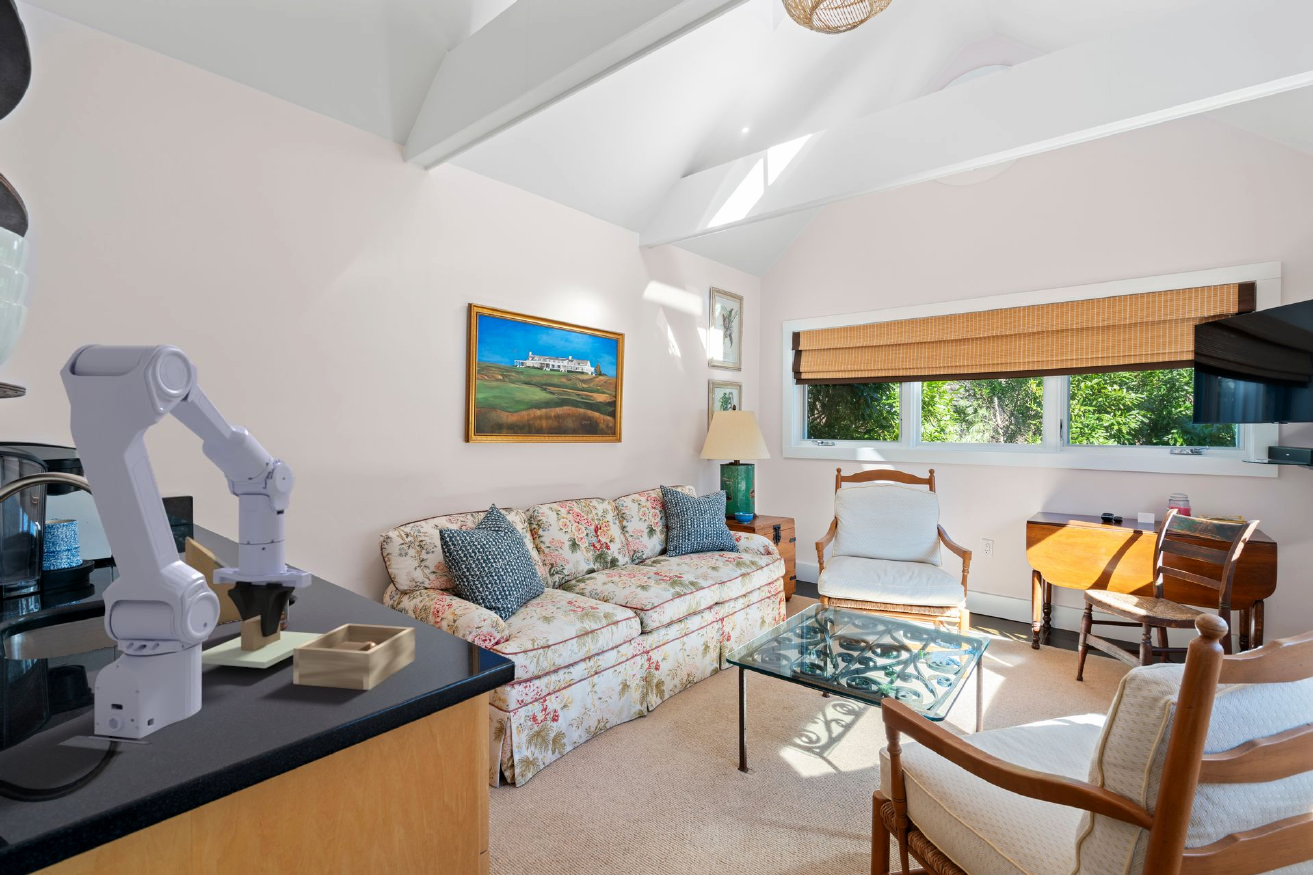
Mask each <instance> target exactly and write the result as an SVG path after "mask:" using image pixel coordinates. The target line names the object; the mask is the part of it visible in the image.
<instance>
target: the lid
mask: <svg viewBox="0 0 1313 875" xmlns="http://www.w3.org/2000/svg"><path fill="white" fill-rule="evenodd" d="M323 634H324V633H316V632H315V633H314V632H313V633H312V632H299V631H298V632H297V631H284V630H280V623H279V626H278V630H277V633H275V634H273V635H271V636H268V637H263V636H262V632H261V618H260V615H259V616H256V617H254V618H251V619H248V620H246V621H241V622H240V636H238V637H236V638H234V639H231V640H228V641H225V642H223V643H221V644H219V645H216V646H214V647H211V648H208V649H206V650H202V664H207V665H208V664H209V665H218V666H219V665H221V666H223V665H224V666H230V667H231V666H235V667H245V668H246V667H248V668H259V669H267V668H268V667H271V666H273V665H275V664H278V662H280V661H284V660H285V659H287V658H289V657H291V656H293V648H295V647H297V646H300V645H302V644H304V643H306V642H308V641H310V640H313V639H315V638H317V637H319V636H321V635H323Z"/></svg>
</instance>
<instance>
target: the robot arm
mask: <svg viewBox="0 0 1313 875" xmlns="http://www.w3.org/2000/svg"><path fill="white" fill-rule="evenodd" d="M198 370H199V369H198V366H197V365H195V364H194V363H193V362H192V361H191V360H190V358H189V356H188V355H187V354H186V353H185V352H184V350H182V349H181V348H180V347H178V346H176V345H174V344H169V343H167V344H165V343H164V344H163V343H162V344H157V345H103V344H99V343H90V344H85V345H82V346H80V347H78V348H77V349H76V350H75V351H74V352H73V353H72V354H71V356H70V357H69V358H68V360H67V361H66V363H64V365H63V367H62V368H61V369H60V370H59V375H60V378H61V381H62V384H63V387H64V390H65V393H66V396H67V398H68V401H69V404H70V420H69V421H70V425H69V426H70V428H69V429H70V432H71V437H72V440H73V443H74V447H75V449H76V452H77V454H78V458H79V461H80V463H81V466H82V469H83V472H84V475H85V478H86V481H87V484H88V486H89V489H90V493H91V496H92V498H93V501H94V504H95V507H96V511H97V513H98V516H99V519H100V521H101V524H102V527H103V530H104V533H105V536H106V539H107V542H108V545H109V547H110V551H111V553H112V556H113V559H114V563H115V565H116V568H117V571H118V573H119V576H118V577H117V578H116V579H114V580H113V581H112V582H111V583H110V584H109V585H108V586H107V588H106V589H105V590H104V591H103V592H102V594H101V596H102V598H103V601H104V606H105V607H104V608H105V612H104V620H103V621H104V622H103V623H104V624H103V625H104V629H105V632H106V634H107V636H108V637H109V638H110V639H111V640H113V641H115V642H117V651H122V652H123V653H122V654H121V655H120V657H119V658H117V659H116V660H115V661H113V662H111V663H109V664H108V665H106V666H104V667H103V668H102V669H100V671H98V672H99V673H98V674H97V676H96V679H95V682H94V735H102V736H112V737H118V738H109V737H102V736H99V737H98V736H92V735H88V738H89V739H92V740H101V741H102V740H104V741H113V742H122V743H123V742H124V743H132V744H142V745H143V744H144V745H148V744H151V742H148V741H140V740H130V738H131V739H142V738H144V737H146V736H148V735H151V734H152V733H155V732H157V731H158V730H161V729H162V728H163V729H164V728H165V727H167V726H169V725H172V724H175V723H178V722H180V721H183V720H185V719H188V718H190V717H192V716H193V715H194V716H195V714H197V713H198V712H199V711H200V710H201V709H202V704H203V702H202V696H203V695H202V694H203V693H202V681H203V680H202V677H203V676H202V675H203V672H202V667H203V663H202V652H203V650H202V649H203V648H202V646H203V644H202V643H203V642H205V641H206V640H209V636H210V634H212V632H213V631H214V630H215V628H216V627H217V626H216V625H217V624H218V623H217V622H218V619H219V614H220V605H219V600H218V598H217V596H216V594H215V593H214V592H213V591H212V590H211V589H210V588H209V587H208V585H207V583H206V579H205V576H204V575H203V574H201V573H200V572H198V571H197V570H195V569H193V568H192V567H190V566H188V565H187V564H185V562H183V561H182V560H181V558H180V555H179V552H178V549H177V544H176V542H175V539H174V535H173V532H172V529H171V525H170V522H169V519H168V515H167V513H166V508H165V505H164V502H163V499H162V495H161V492H160V489H159V485H158V483H157V479H156V475H155V473H154V469H153V465H152V462H151V459H150V456H149V453H148V450H147V446H146V442H145V439H144V435H145V433H146V432H147V431H148V429H149V427H151V426H154V425H157V424H158V423H160V421H161V420H162V419H163V418H164V417H166V416H167V415H168V414H171V416H172V417H174V418H175V419H177V420H178V421H179V422H180V423H181V424H183V425H184V426H185V427H186V428H188V429H189V430H190V431H191V432H192V433H193V434H195V435H196V436H198V437H199V438H200V439H201V441H203V442H202V447H201V449H202V450H201V451H202V452H203V454H204V456H205V457H206V458H208V459H209V460H210V461H211V463H213V464H214V465H215V466H216V467H217V468H218V469H219V470H220V471H221V472H222V473H223V475H224V478H225V479H226V480H227V486H228V487H227V488H228V490H229V492H230V494H231V495H234V496H235V497H237V498H238V567H232V568H221V569H218V570H214V571H213V583H214V584H221V583H235V586H234V588H232V589H229V590H228V596H229V597H230V598H231V600H232V601H233V602H234V604H235V606H236V607H237V609H238V611H239V613H240V616H241V618H242V619H241V622H243V621H246V620H248V619H251V618H254V617H256V616H259V615H260V618H261V632H262V636H263V637H268V636H271V635H273V634H275V633H277V630H278V626H279V623H280V619H281V616H282V613H283V610H284V608H285V605H286V603H287V601H288V599H290V598H291V595H292V594H293V593H294V591H295V590H296V589H304V588H306V587H309V586H312V571H305V570H304V571H303V570H297V569H293V568H288V566H287V565H286V509H288V508H289V505H290V497H291V493H292V491H293V489H294V485H295V481H296V478H295V477H296V476H294V473H293V472H294V471H293V469H292V467H291V466H290V465H289V464H288V463H286V462H285V461H284V460H282V459H280V458H274V457H273V456H272V455H271V454H270V453H269V452H268V451H267V449H265V448H264V447H263V445H262V444H261V443H260V442H259V441H258V440H257V439H256V438H255V437H254V436H253V435H252V433H251V429H249V428H248V427H247V426H245V425H242V424H236V423H233V424H232V423H231V424H230V423H228V421H227V419H225V417H224V416H223V414H222V413H221V412H220V411H219V410H218V408H217V407H216V405H215V404H214V403H213V402H212V401H211V399H210V397H209V396H208V395H207V393H205V391H204V390H203V389H202V388H201V387H200V385H199V384H198V382H199V371H198ZM119 737H120V738H119ZM121 738H129V739H121Z"/></svg>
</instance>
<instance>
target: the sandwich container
mask: <svg viewBox="0 0 1313 875" xmlns="http://www.w3.org/2000/svg"><path fill="white" fill-rule="evenodd" d="M184 541H185V544H184V545H185V552H184V553H185V555H184V558H185V562H184V563H185V564H187V565H188V566H190V567H192V568H193V569H195V570H197V571H198V572H200V573H201V574H203V575H204V576H205V579H206V583H207V585H208V587H209V588H210V589H211V590H212V591H213V592H214V593H215V594H216V596H217V598H218V600H219V605H220V614H219V619H218V622H217V624H220V623H225V622H226V623H228V622H234V621H238V620H239V621H240V620H242V618H241V616H240V613H239V611H238V609H237V607H236V606H235V604H234V602H233V601H232V600H231V598H230V597H229V596H228V590H229V589H232V588H234V586H235V583H221V584H214V583H213V571H214V570H218V569H221V568H233V567H232V566H230V565H229V564H228V563H226V562H224V561H223V560H222V559H221V558H219V557H218V556H217V555H215V554H214V553H213V552H212V551H210V550H208V548H206V547H204V546H202V544H200V543H198V542H196V541H195V540H194V539H193V538H191V537H189V536H186V537H185V540H184Z"/></svg>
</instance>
